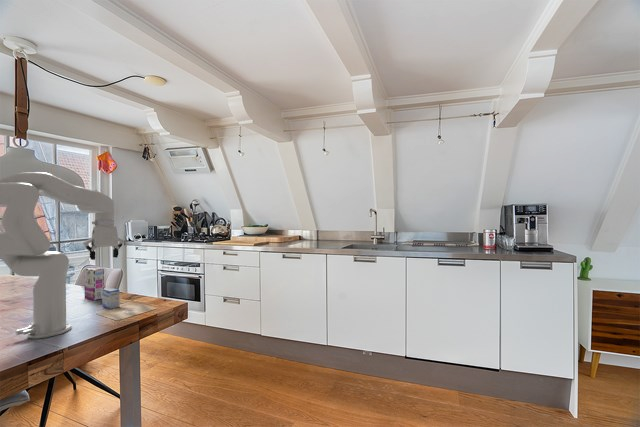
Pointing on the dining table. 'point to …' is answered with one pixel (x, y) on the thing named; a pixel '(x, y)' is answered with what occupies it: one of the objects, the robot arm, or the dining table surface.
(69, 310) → the dining table surface
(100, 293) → the candy bar box
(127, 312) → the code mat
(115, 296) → the medicine box
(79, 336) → the dining table surface
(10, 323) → the dining table surface
